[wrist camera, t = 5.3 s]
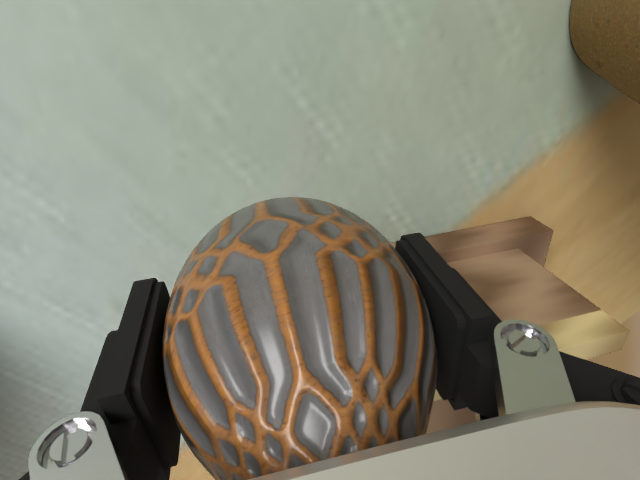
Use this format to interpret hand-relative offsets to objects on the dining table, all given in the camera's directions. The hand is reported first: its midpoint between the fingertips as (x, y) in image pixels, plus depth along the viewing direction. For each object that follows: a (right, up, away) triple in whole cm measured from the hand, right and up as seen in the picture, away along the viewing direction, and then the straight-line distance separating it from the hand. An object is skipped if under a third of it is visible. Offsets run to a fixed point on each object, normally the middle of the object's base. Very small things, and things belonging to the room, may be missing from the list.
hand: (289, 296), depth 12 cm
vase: (-1, +1, +2) cm, 2 cm away
